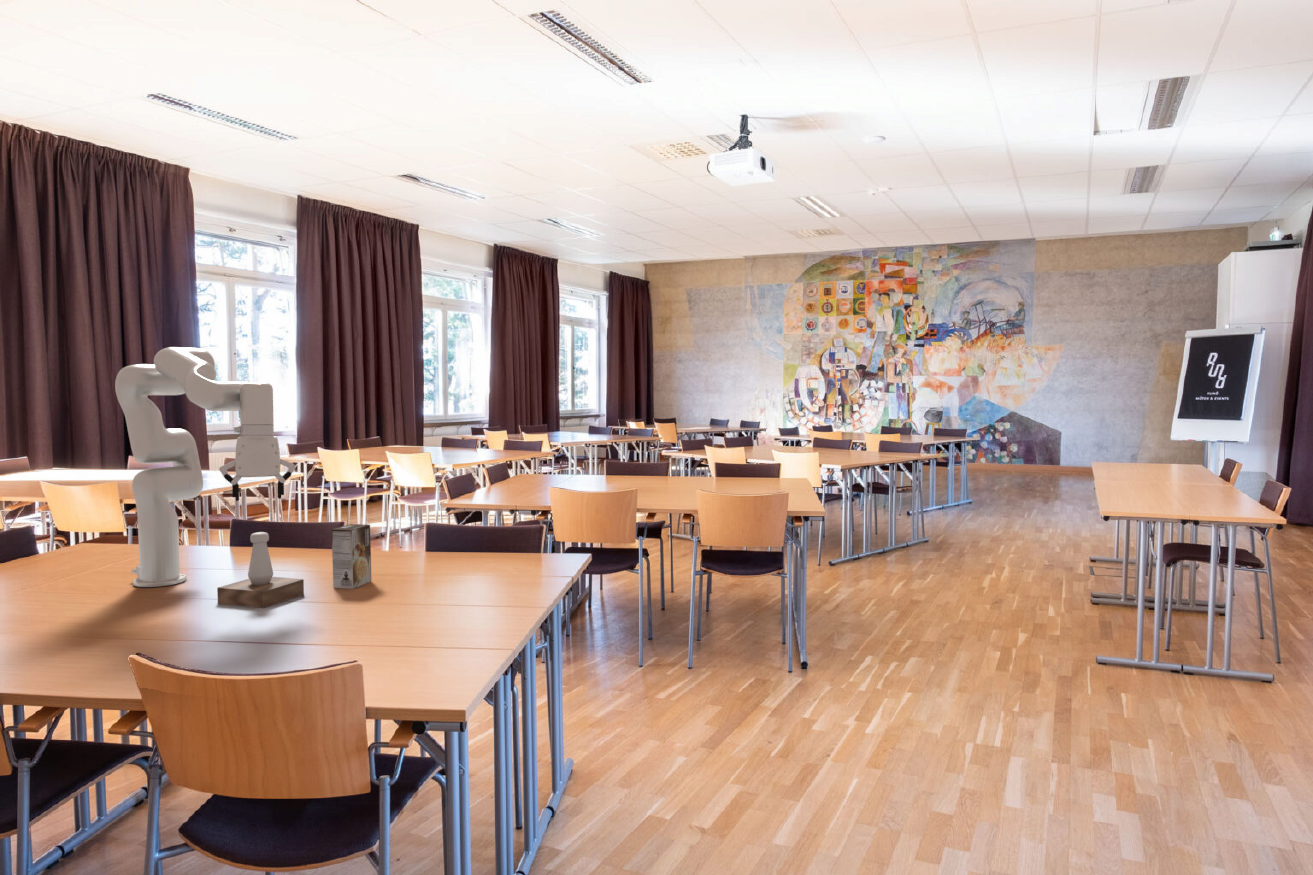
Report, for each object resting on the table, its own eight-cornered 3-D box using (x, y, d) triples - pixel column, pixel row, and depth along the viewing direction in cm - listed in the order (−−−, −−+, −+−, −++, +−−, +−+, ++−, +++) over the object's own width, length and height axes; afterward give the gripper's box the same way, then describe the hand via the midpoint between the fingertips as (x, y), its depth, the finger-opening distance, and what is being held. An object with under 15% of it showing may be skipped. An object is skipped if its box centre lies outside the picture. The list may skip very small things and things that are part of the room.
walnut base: (217, 603, 206) (217, 587, 206) (260, 590, 220) (259, 575, 219) (263, 607, 202) (263, 591, 202) (303, 594, 215) (303, 579, 215)
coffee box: (351, 580, 231) (350, 523, 230) (372, 581, 230) (371, 524, 229) (332, 588, 222) (330, 528, 222) (353, 589, 221) (352, 529, 220)
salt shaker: (253, 580, 213) (252, 530, 212) (276, 580, 214) (275, 530, 213) (244, 586, 207) (243, 534, 207) (268, 585, 208) (266, 534, 207)
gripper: (218, 433, 201) (219, 503, 202) (295, 431, 209) (296, 499, 210) (218, 431, 208) (219, 499, 209) (293, 430, 216) (294, 495, 217)
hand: (258, 499), depth 209 cm, fingers open, 9 cm apart
